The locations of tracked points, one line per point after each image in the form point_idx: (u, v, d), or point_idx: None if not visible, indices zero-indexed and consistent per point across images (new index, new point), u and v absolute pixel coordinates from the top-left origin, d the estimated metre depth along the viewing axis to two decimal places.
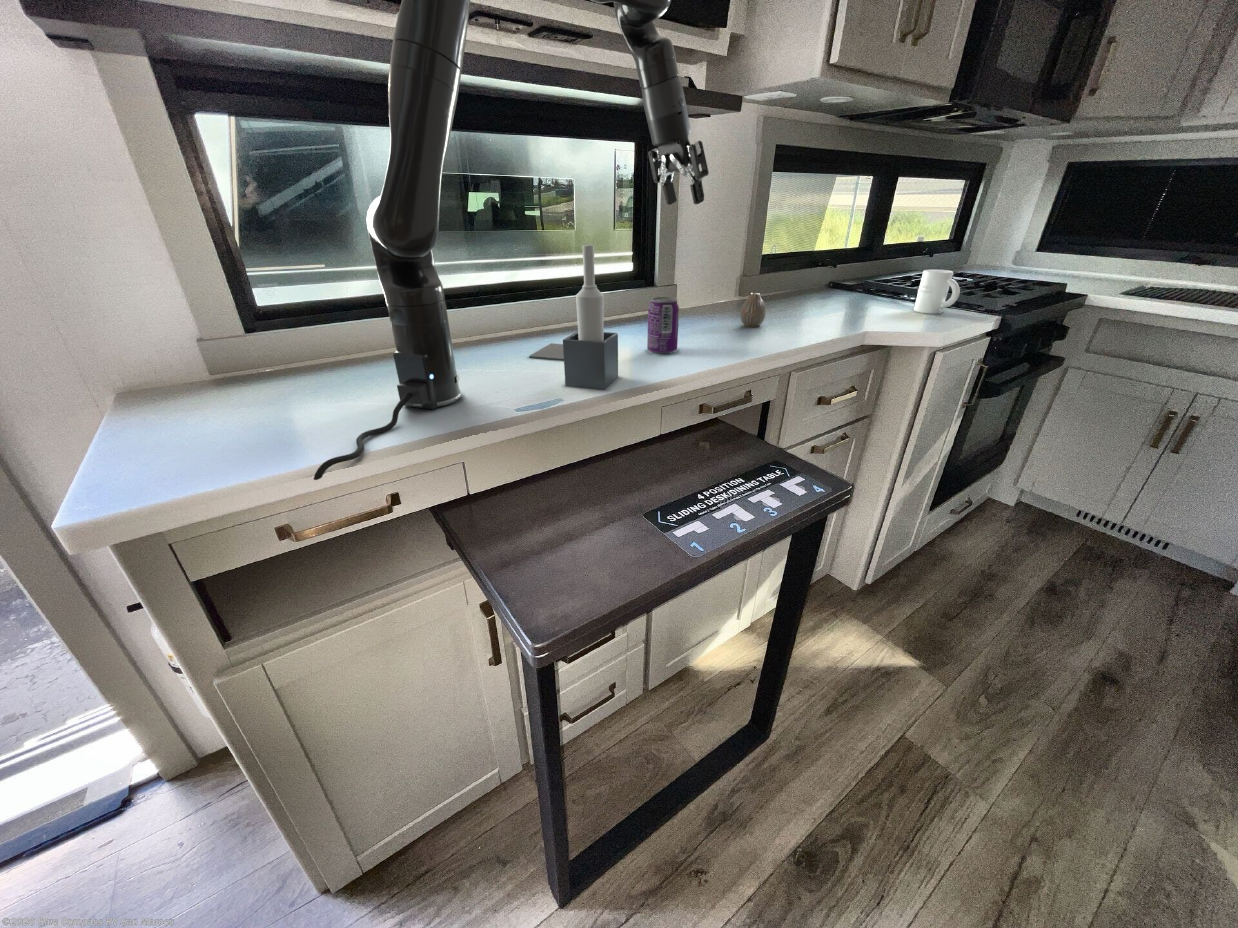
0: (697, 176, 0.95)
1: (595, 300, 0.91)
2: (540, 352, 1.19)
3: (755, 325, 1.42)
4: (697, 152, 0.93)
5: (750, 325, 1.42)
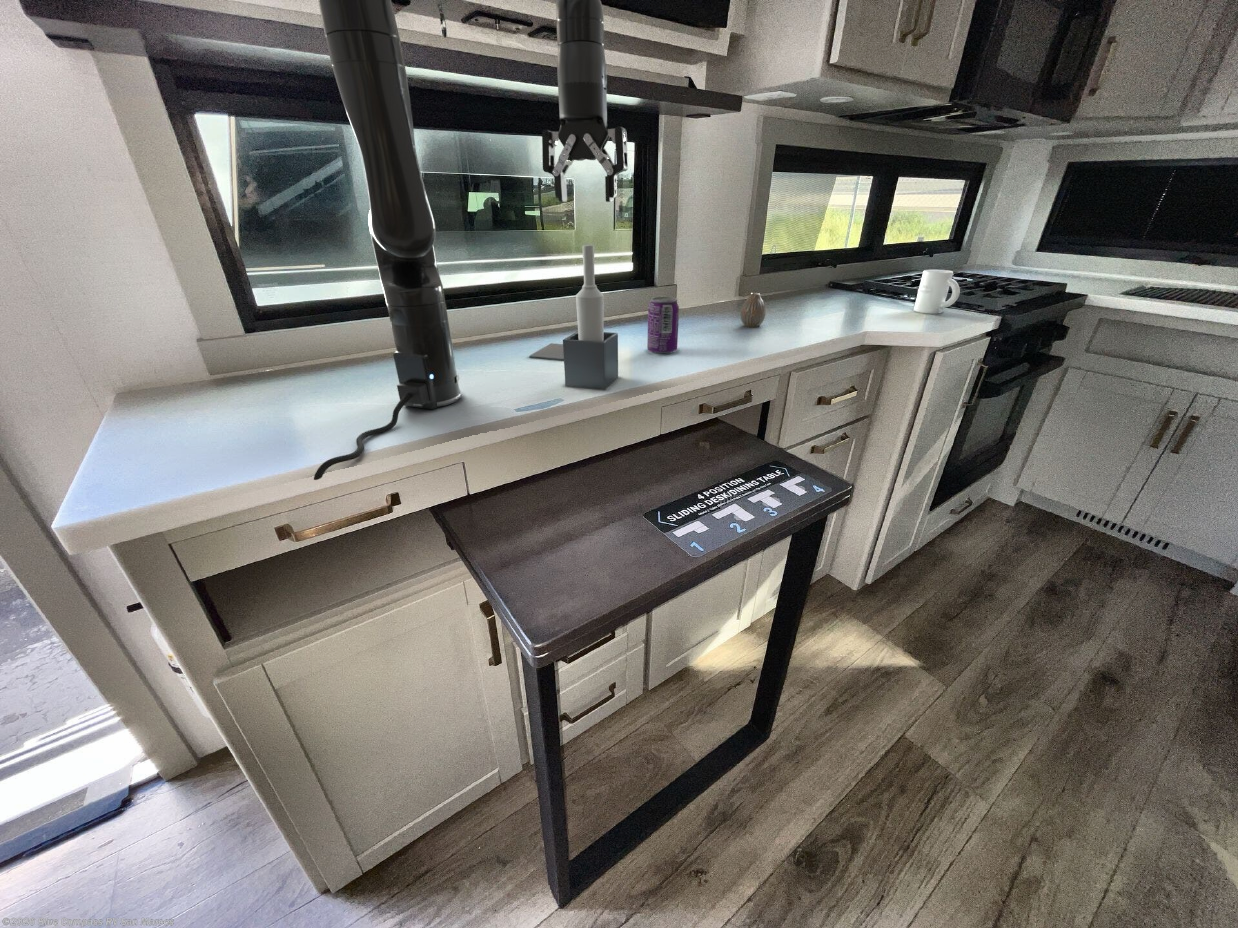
0: (621, 165, 0.81)
1: (595, 300, 0.91)
2: (540, 352, 1.19)
3: (755, 325, 1.42)
4: (623, 138, 0.80)
5: (750, 325, 1.42)
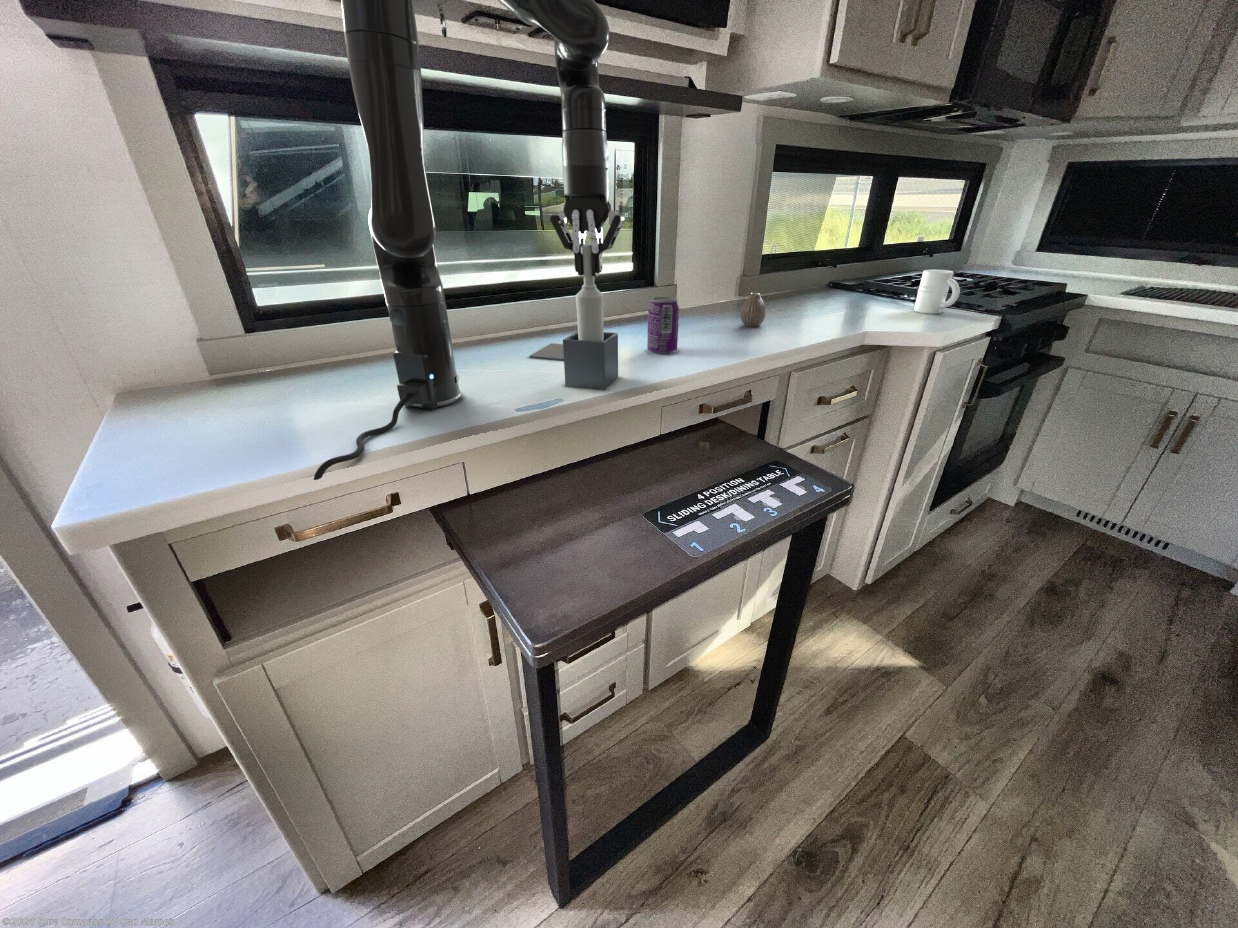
0: (605, 246, 0.87)
1: (595, 300, 0.91)
2: (540, 352, 1.19)
3: (755, 325, 1.42)
4: (619, 226, 0.86)
5: (750, 325, 1.42)
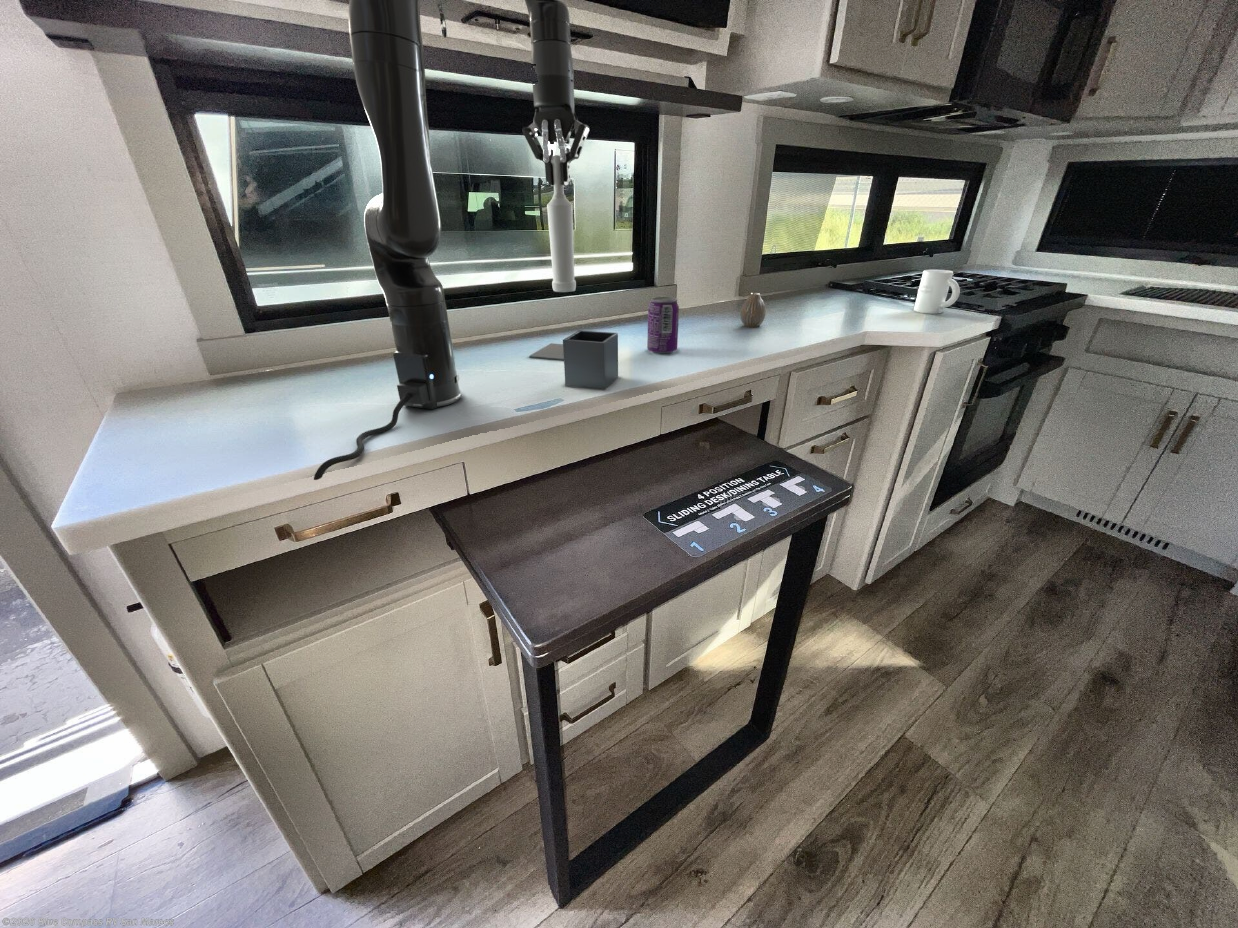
0: (572, 154, 0.96)
1: (564, 207, 1.00)
2: (540, 352, 1.19)
3: (755, 325, 1.42)
4: (584, 135, 0.95)
5: (750, 325, 1.42)
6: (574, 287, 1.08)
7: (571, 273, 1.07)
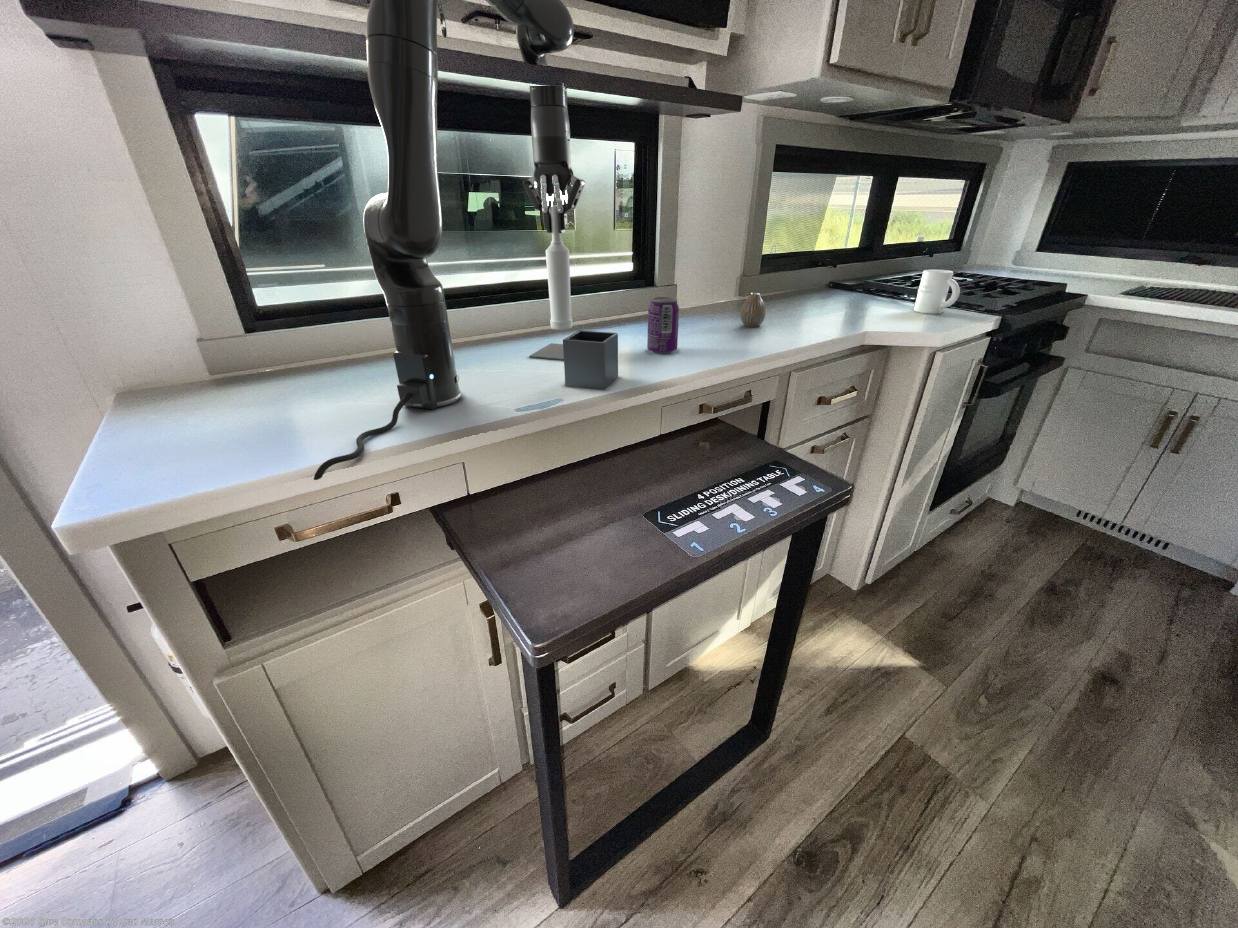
0: (569, 206, 1.03)
1: (561, 253, 1.07)
2: (540, 352, 1.19)
3: (755, 325, 1.42)
4: (580, 189, 1.02)
5: (750, 325, 1.42)
6: (571, 325, 1.16)
7: (568, 312, 1.14)
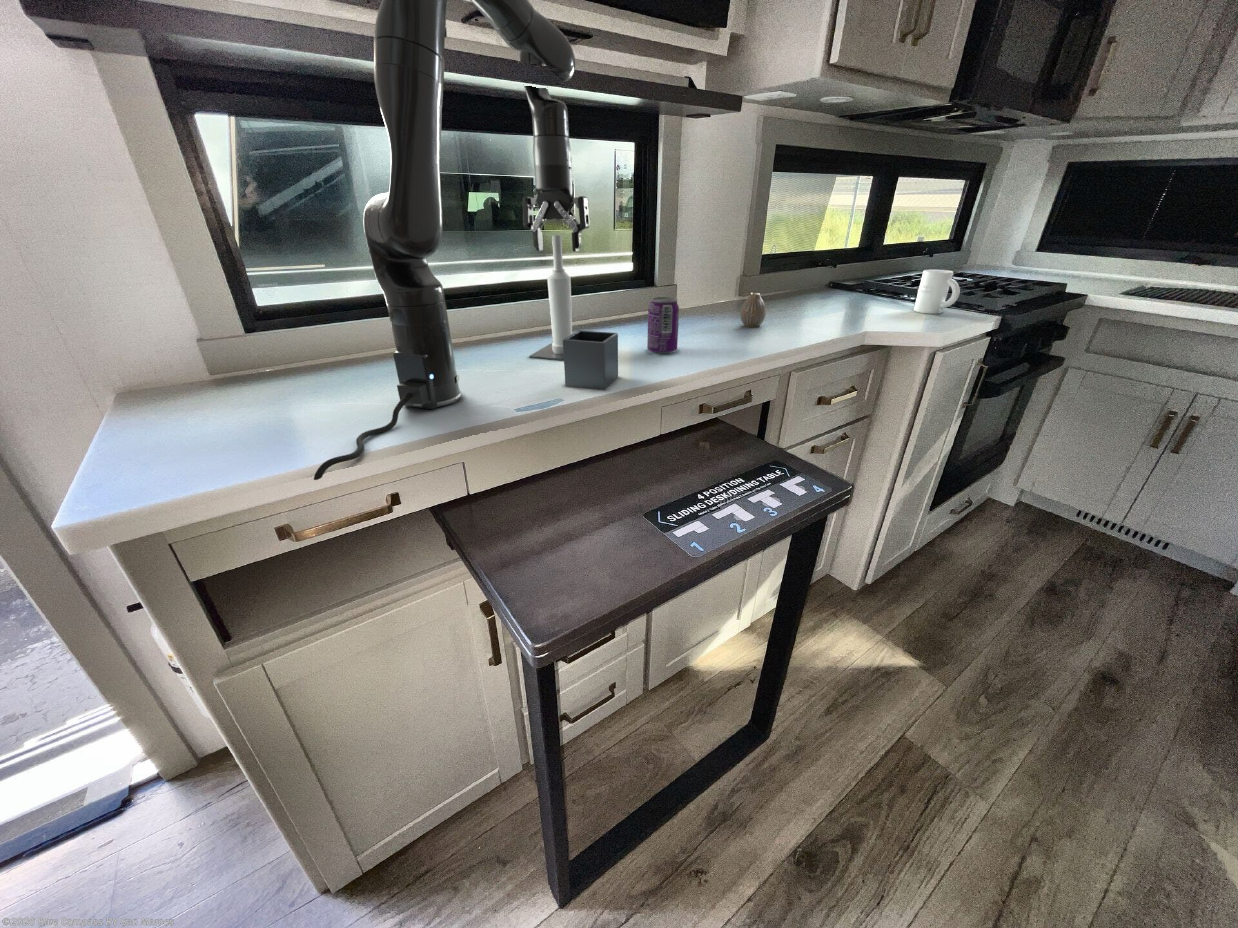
0: (583, 225, 1.04)
1: (563, 281, 1.10)
2: (540, 352, 1.19)
3: (755, 325, 1.42)
4: (585, 204, 1.03)
5: (750, 325, 1.42)
6: None
7: None
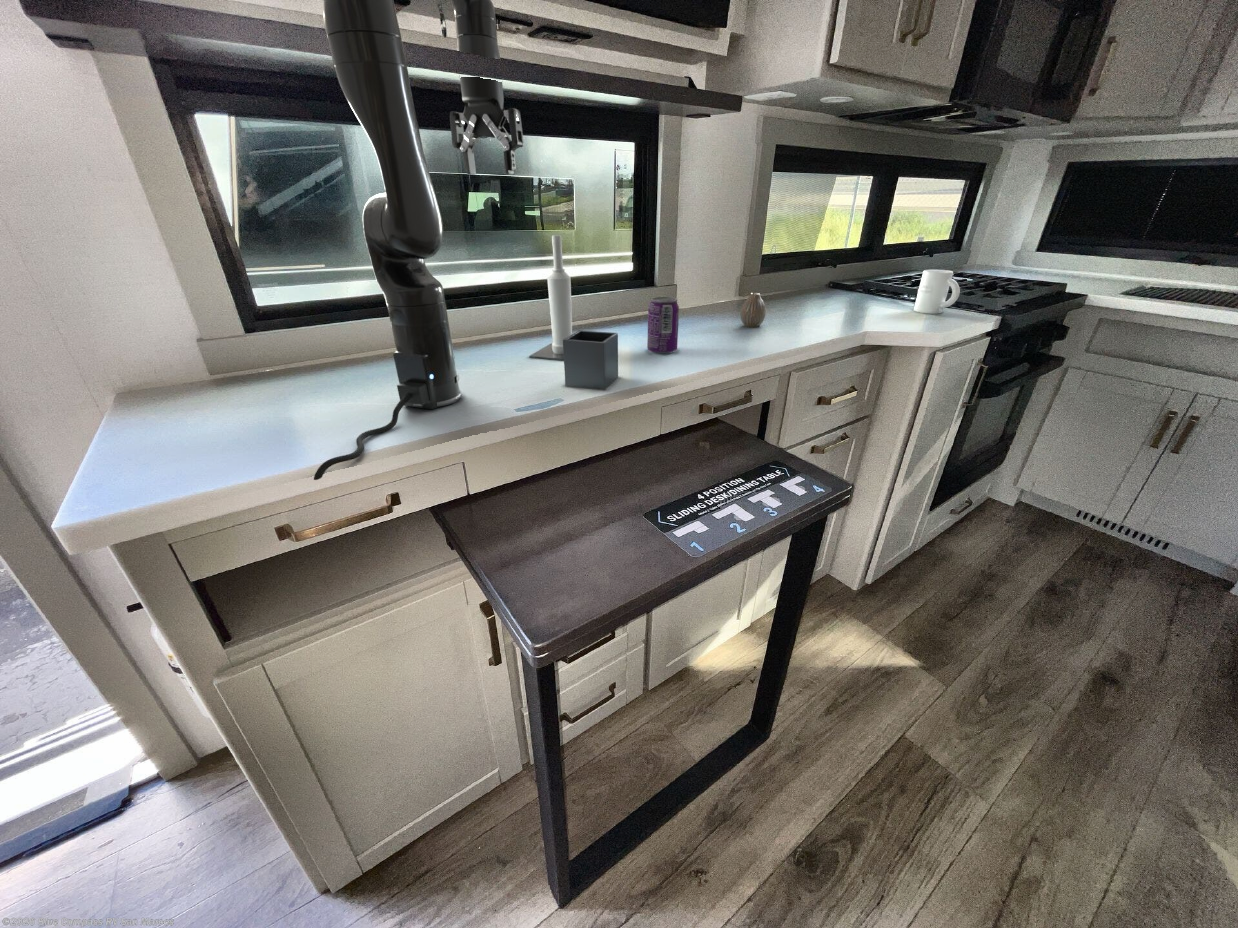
0: (515, 141, 0.94)
1: (563, 281, 1.10)
2: (540, 352, 1.19)
3: (755, 325, 1.42)
4: (516, 118, 0.93)
5: (750, 325, 1.42)
6: None
7: None
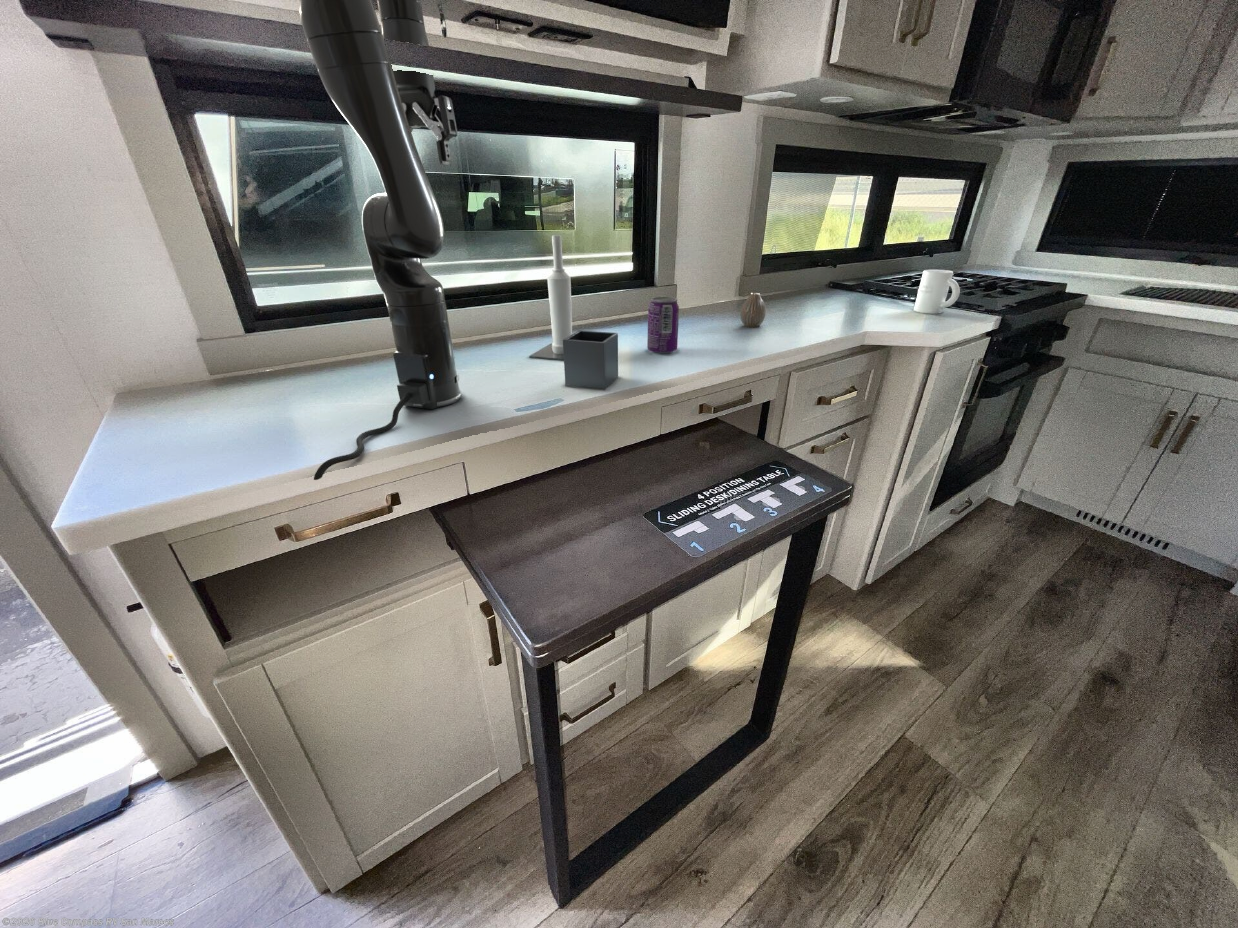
0: (447, 131, 0.90)
1: (563, 281, 1.10)
2: (540, 352, 1.19)
3: (755, 325, 1.42)
4: (447, 106, 0.89)
5: (750, 325, 1.42)
6: None
7: None
